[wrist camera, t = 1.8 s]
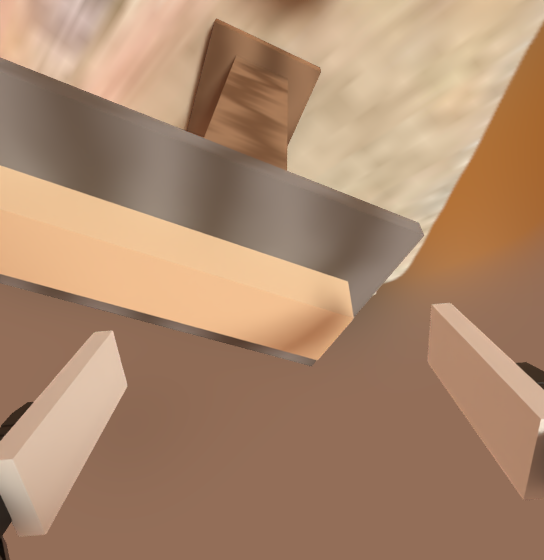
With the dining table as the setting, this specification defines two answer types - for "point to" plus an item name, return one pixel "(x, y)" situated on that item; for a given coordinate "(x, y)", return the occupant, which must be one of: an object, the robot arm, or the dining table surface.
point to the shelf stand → (205, 169)
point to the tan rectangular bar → (165, 269)
